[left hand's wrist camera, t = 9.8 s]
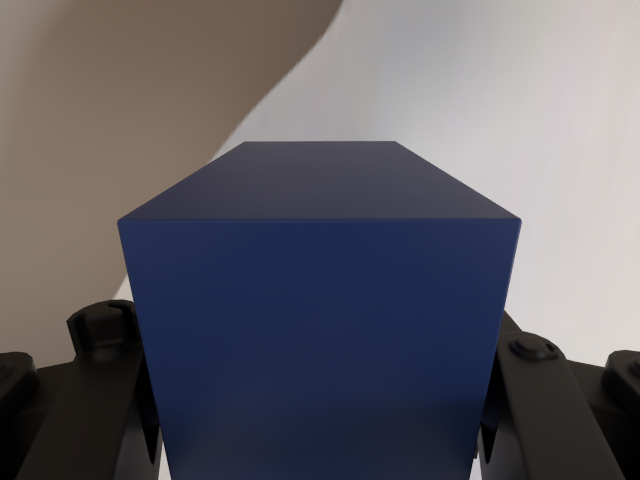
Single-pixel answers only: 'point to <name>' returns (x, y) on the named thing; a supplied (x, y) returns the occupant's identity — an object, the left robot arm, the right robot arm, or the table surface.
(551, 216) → the table surface
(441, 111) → the table surface
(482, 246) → the bar
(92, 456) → the left robot arm
